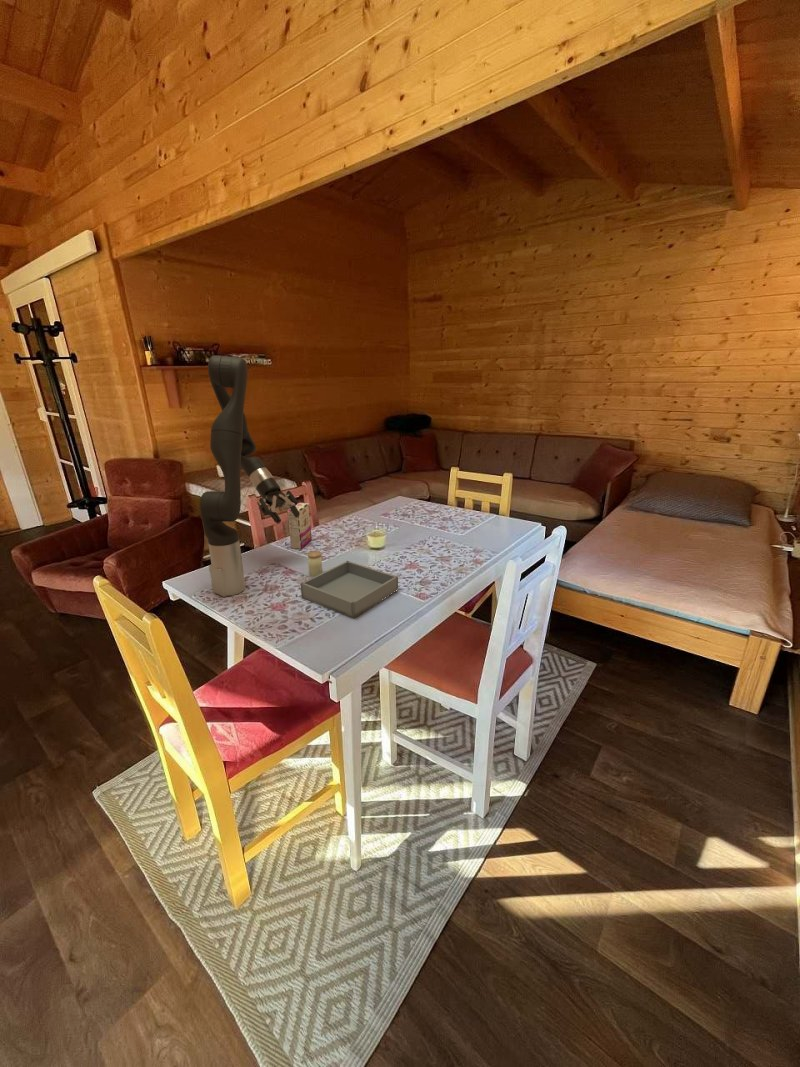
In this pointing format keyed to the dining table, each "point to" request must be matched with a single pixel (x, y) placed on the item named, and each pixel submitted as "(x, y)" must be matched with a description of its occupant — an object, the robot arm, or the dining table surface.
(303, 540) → the candy bar box
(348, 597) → the bin
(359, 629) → the dining table surface
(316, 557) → the lidded yellow jar
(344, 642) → the dining table surface
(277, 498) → the robot arm
